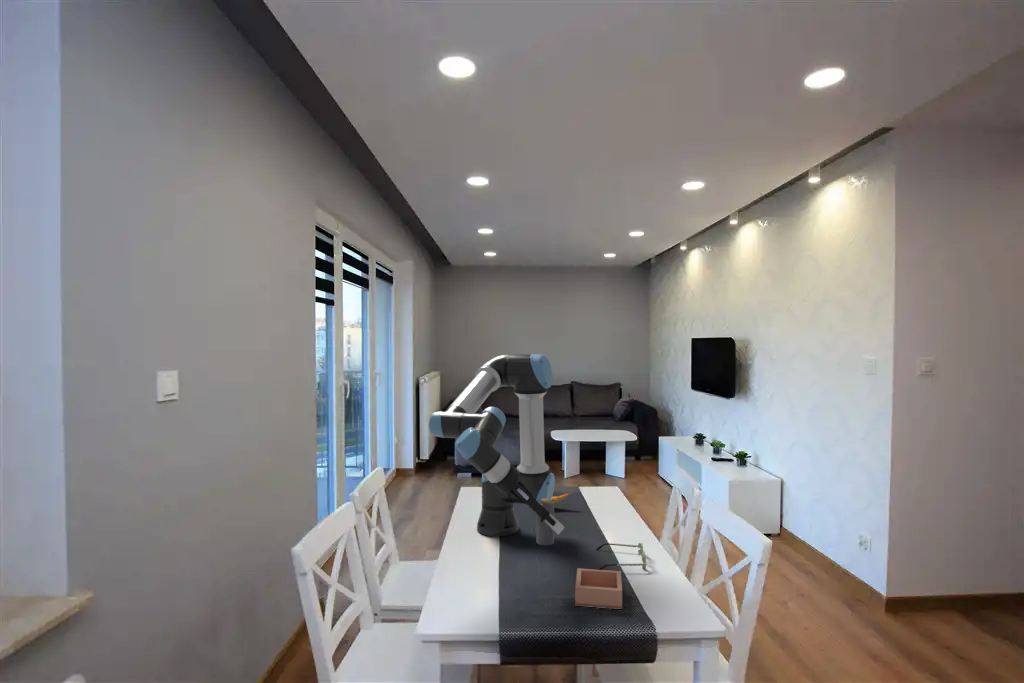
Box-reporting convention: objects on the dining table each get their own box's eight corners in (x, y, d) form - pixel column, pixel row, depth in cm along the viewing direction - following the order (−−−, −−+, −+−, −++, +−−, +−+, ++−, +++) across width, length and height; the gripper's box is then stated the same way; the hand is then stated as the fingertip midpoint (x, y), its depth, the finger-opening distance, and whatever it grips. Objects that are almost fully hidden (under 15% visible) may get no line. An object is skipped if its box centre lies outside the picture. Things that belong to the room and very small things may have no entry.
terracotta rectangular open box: (575, 606, 141) (575, 587, 141) (577, 585, 152) (577, 568, 152) (622, 610, 139) (622, 590, 139) (620, 589, 150) (620, 571, 150)
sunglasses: (647, 575, 160) (647, 558, 160) (595, 572, 162) (595, 555, 162) (641, 552, 177) (641, 537, 177) (594, 550, 179) (594, 535, 179)
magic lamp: (573, 511, 219) (573, 484, 219) (529, 510, 220) (528, 483, 220) (573, 506, 225) (573, 480, 225) (529, 505, 227) (529, 479, 227)
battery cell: (535, 544, 151) (535, 501, 151) (537, 538, 156) (537, 496, 156) (553, 545, 150) (553, 502, 150) (554, 539, 155) (554, 497, 155)
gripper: (485, 475, 157) (539, 526, 162) (500, 492, 140) (560, 549, 145) (502, 456, 159) (555, 507, 163) (519, 471, 141) (578, 527, 146)
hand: (557, 527), depth 154 cm, fingers closed on battery cell, 5 cm apart
